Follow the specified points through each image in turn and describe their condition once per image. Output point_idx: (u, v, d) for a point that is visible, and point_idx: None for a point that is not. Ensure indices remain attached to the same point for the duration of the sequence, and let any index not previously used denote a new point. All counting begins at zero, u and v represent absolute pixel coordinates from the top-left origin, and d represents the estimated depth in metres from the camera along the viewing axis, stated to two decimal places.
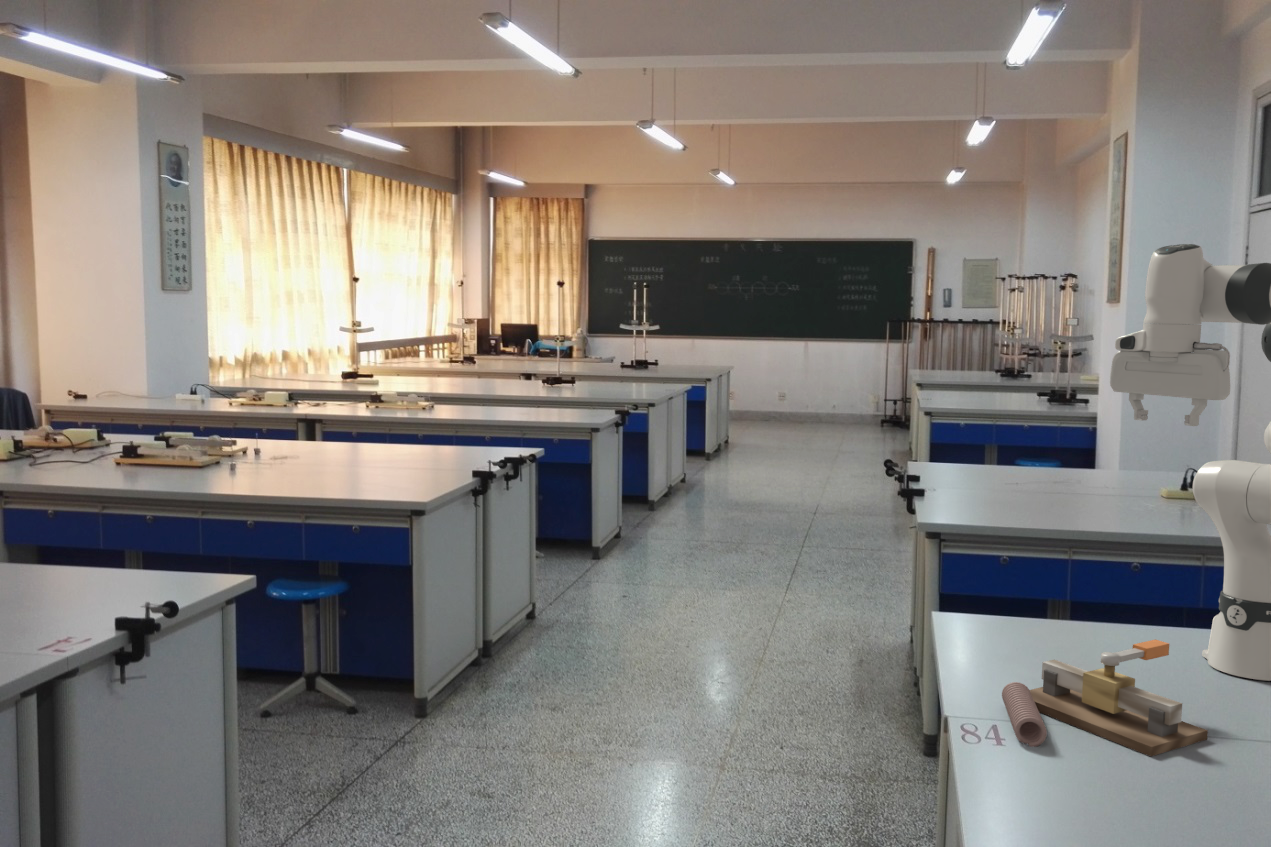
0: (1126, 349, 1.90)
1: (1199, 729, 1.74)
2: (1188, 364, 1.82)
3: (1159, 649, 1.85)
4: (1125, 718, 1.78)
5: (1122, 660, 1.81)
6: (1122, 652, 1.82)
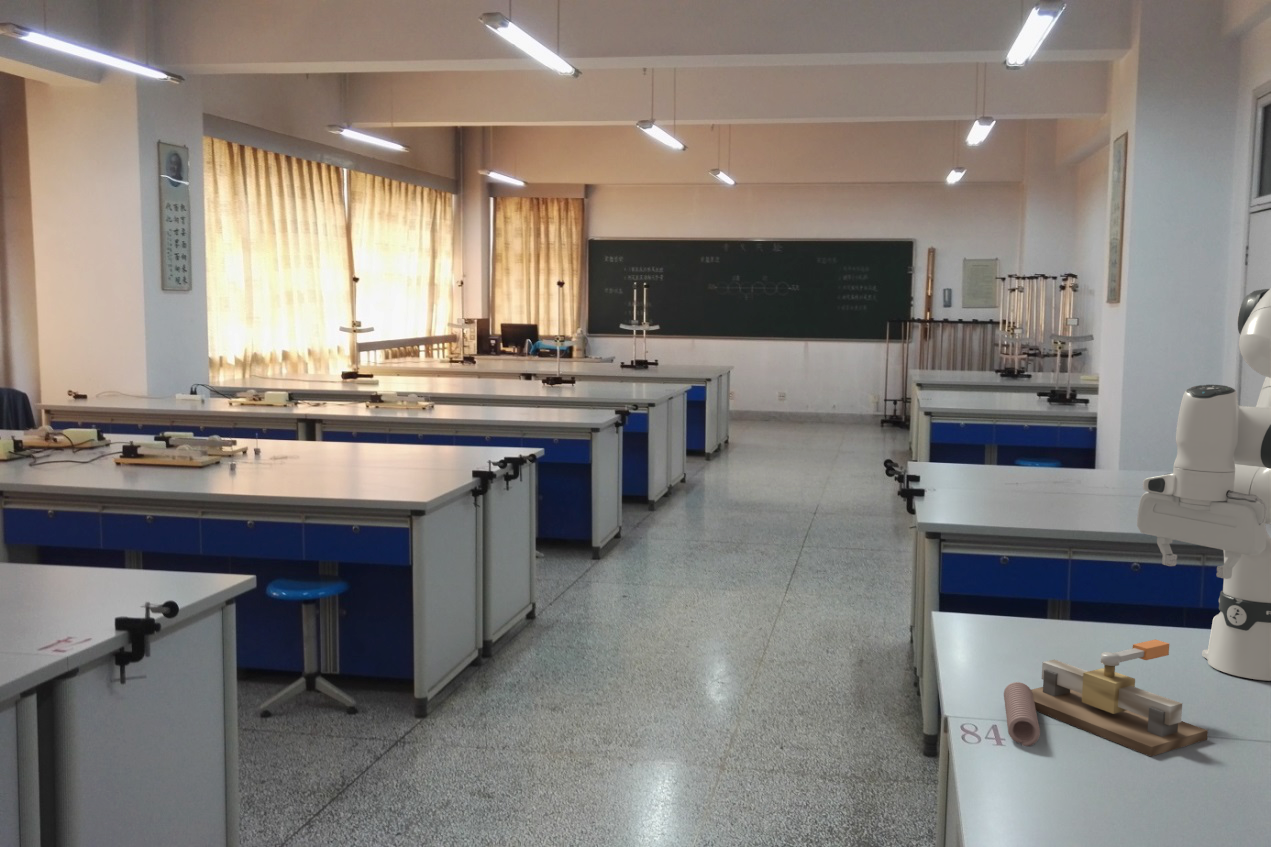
0: (1155, 491, 1.81)
1: (1199, 729, 1.74)
2: (1221, 514, 1.73)
3: (1159, 649, 1.85)
4: (1125, 718, 1.78)
5: (1122, 660, 1.81)
6: (1122, 652, 1.82)
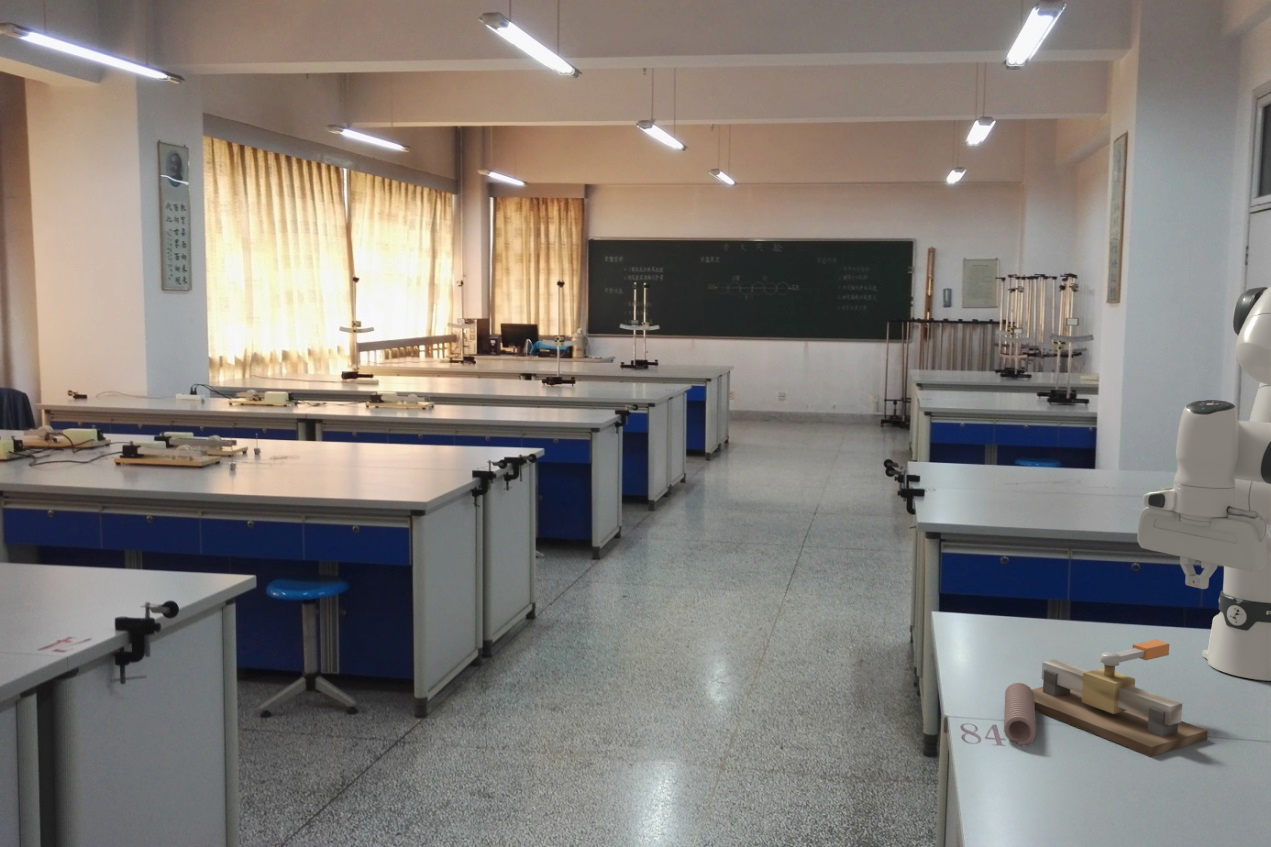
0: (1155, 507, 1.81)
1: (1199, 729, 1.74)
2: (1222, 530, 1.73)
3: (1159, 649, 1.85)
4: (1125, 718, 1.78)
5: (1122, 660, 1.81)
6: (1122, 652, 1.82)
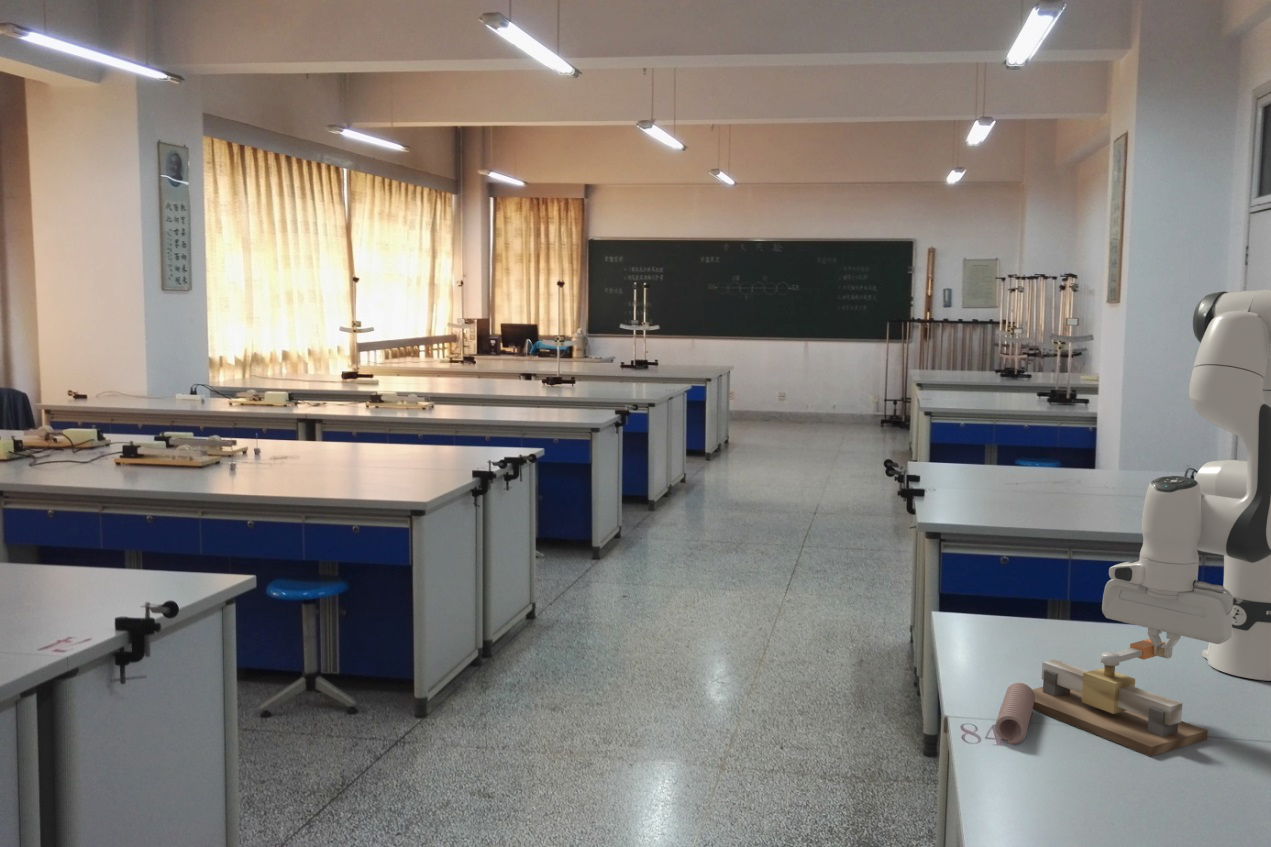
0: (1122, 580, 1.86)
1: (1199, 729, 1.74)
2: (1189, 604, 1.79)
3: None
4: (1125, 718, 1.78)
5: (1122, 660, 1.81)
6: (1121, 652, 1.82)
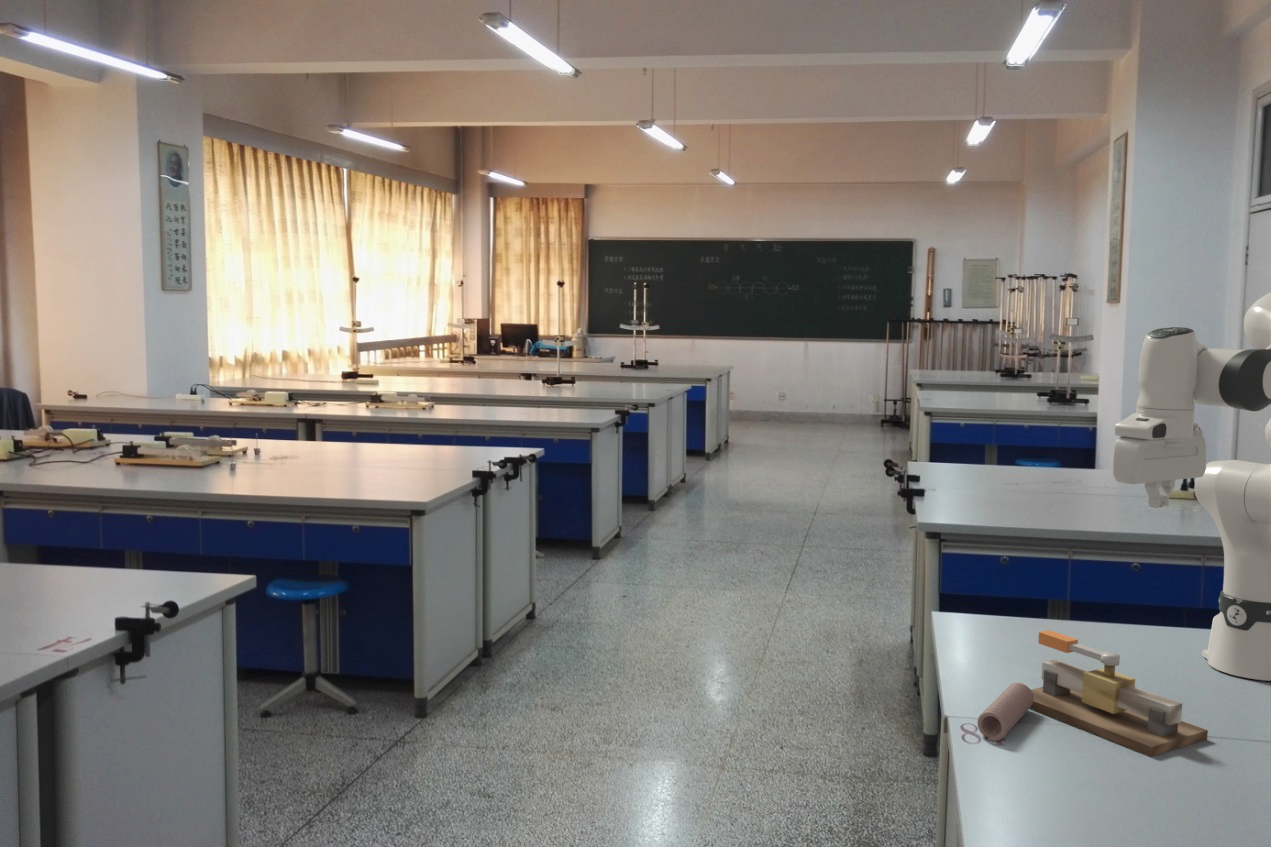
0: (1157, 438, 1.79)
1: (1199, 729, 1.74)
2: (1188, 446, 1.86)
3: None
4: (1125, 718, 1.78)
5: None
6: (1091, 650, 1.83)
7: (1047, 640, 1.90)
